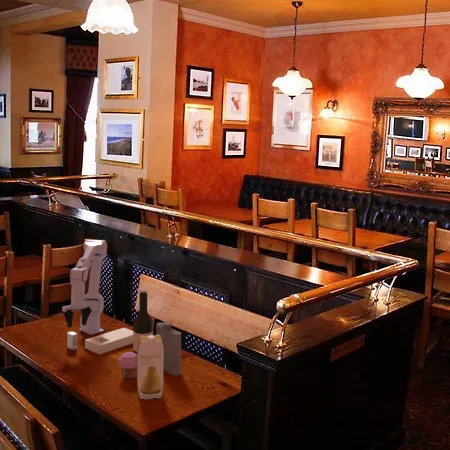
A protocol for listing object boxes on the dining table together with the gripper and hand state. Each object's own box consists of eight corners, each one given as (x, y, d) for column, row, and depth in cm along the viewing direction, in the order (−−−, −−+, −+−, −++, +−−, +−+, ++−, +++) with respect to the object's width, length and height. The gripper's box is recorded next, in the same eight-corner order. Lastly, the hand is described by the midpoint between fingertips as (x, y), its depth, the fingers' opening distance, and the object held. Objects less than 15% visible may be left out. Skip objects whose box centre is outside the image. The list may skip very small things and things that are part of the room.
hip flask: (181, 374, 245) (182, 327, 241) (173, 376, 242) (174, 329, 239) (160, 361, 257) (161, 316, 253) (152, 363, 254) (153, 318, 251)
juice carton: (138, 401, 221) (138, 339, 216) (136, 391, 228) (136, 331, 224) (163, 399, 223) (164, 338, 218) (161, 389, 230) (161, 330, 226)
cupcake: (118, 382, 236) (118, 358, 234) (117, 372, 244) (117, 349, 242) (141, 380, 238) (141, 357, 236) (139, 371, 246) (139, 348, 244)
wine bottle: (129, 359, 257) (129, 292, 252) (140, 352, 265) (141, 287, 259) (145, 363, 254) (145, 295, 248) (156, 356, 261) (157, 290, 255)
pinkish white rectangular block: (67, 347, 268) (67, 332, 266) (72, 346, 270) (71, 331, 268) (72, 350, 265) (72, 335, 264) (77, 348, 267) (77, 333, 266)
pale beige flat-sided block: (85, 348, 268) (85, 339, 267) (124, 335, 284) (124, 327, 283) (99, 354, 261) (99, 345, 261) (138, 341, 278) (138, 333, 277)
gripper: (69, 298, 256) (68, 329, 257) (97, 295, 267) (95, 325, 268) (59, 295, 261) (58, 326, 261) (87, 293, 272) (86, 323, 272)
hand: (76, 326), depth 265 cm, fingers open, 7 cm apart
